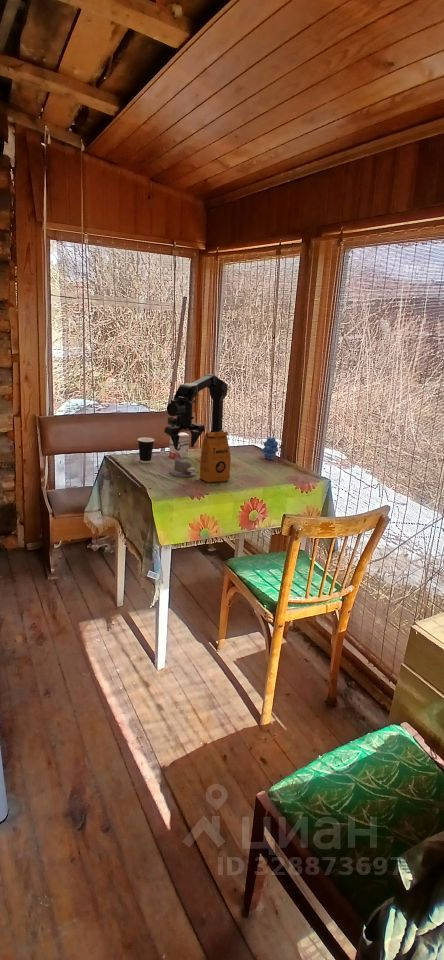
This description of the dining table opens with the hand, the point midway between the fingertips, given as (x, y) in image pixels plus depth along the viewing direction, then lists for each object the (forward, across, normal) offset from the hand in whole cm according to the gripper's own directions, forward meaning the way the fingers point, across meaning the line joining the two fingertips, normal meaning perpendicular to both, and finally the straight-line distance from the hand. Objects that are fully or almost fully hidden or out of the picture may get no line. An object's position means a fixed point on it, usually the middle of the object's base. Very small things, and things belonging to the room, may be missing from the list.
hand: (184, 447), depth 248 cm
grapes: (+12, -56, +2) cm, 57 cm away
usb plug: (+11, 0, +1) cm, 11 cm away
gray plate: (+12, 0, 0) cm, 12 cm away
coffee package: (+12, -6, +15) cm, 20 cm away
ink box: (+12, -16, -24) cm, 31 cm away
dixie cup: (+12, +4, -24) cm, 27 cm away
